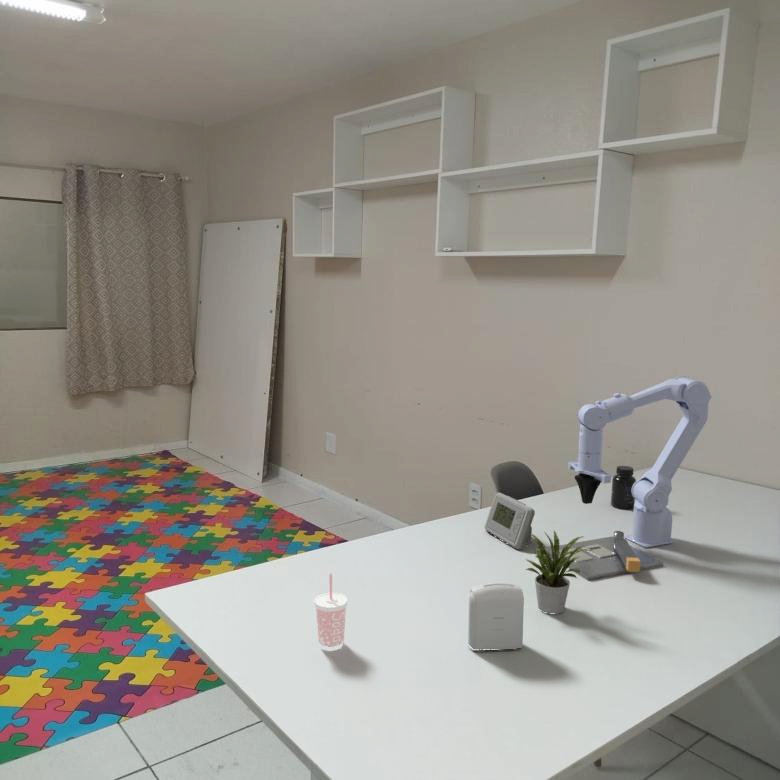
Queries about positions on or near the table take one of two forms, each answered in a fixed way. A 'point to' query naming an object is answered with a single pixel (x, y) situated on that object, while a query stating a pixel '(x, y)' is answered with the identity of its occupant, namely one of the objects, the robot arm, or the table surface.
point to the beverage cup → (331, 617)
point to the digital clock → (510, 520)
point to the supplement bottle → (623, 488)
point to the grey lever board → (603, 558)
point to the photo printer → (496, 616)
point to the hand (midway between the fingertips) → (587, 502)
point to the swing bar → (627, 555)
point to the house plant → (553, 574)
